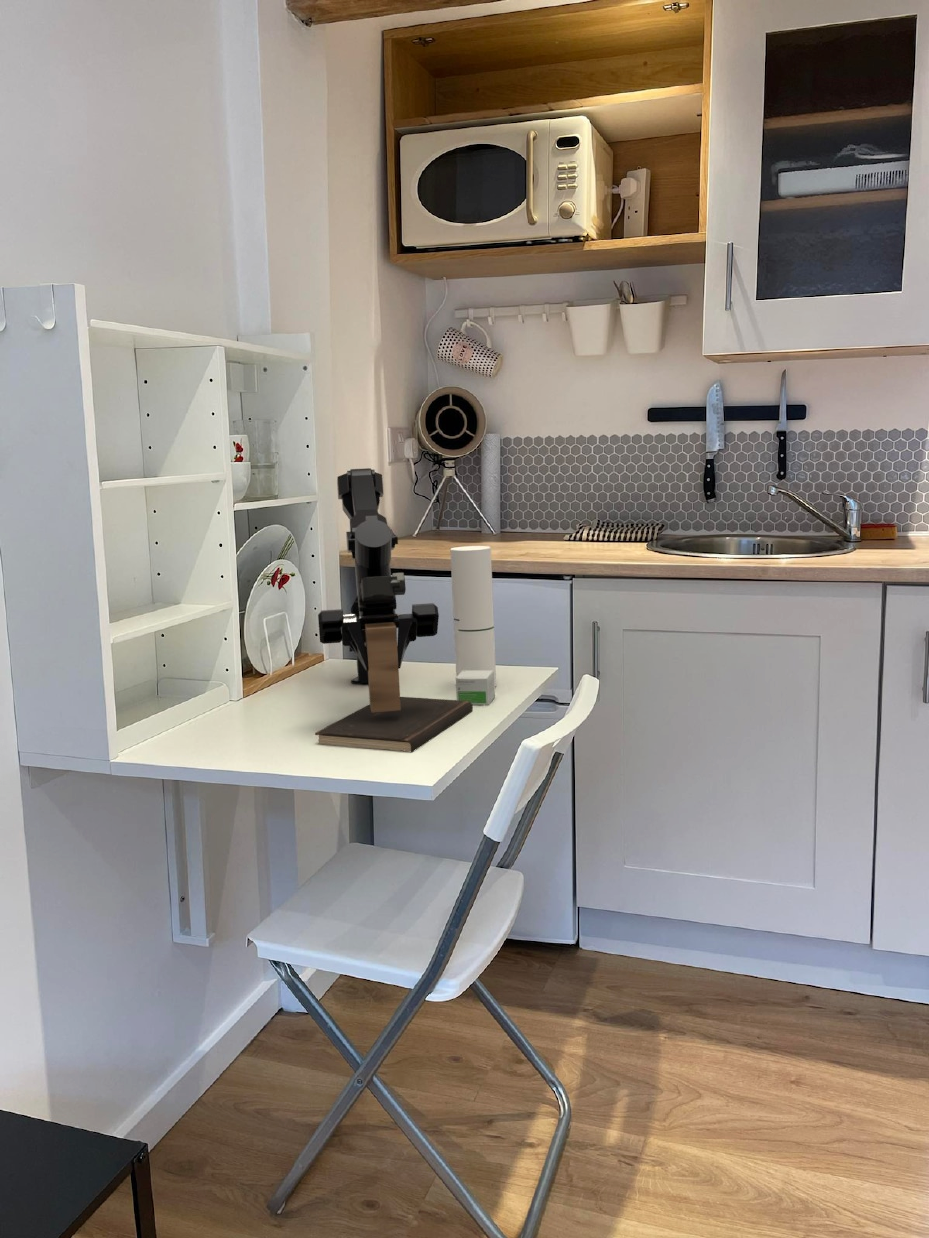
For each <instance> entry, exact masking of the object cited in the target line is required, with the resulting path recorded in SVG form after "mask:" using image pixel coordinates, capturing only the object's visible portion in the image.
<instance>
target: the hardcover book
mask: <svg viewBox="0 0 929 1238" xmlns="http://www.w3.org/2000/svg"><path fill="white" fill-rule="evenodd" d="M400 705H401V710H398V711H385V712H373V713H371V708H370V703H369V704H366V705H365V706H364V707H361V708H359V709H358V710H356V711H354V712H352V713H351V714H348V715H347V716H344V717H342V718H341V719H339V720H336V721H334V722H333V723H331V724H330V725H327V726H326V727H324V728H321V729H320V730H318V731H317V732H315V733H314V734H315V736H318V740H317V742H318V745H327V746H338V747H339V746H340V747H348V746H350V747H349V748H362V749H373V750H383V749H392V750H391V751H395V750H403V751H402V752H407V751H411V752H410V753H413V752H415V751H416V750H418V749H420V748H421V747H422V746H424V745H425V744H426V743H428V742H430V741H431V740H432V739H434V738H436V737H437V736H438V735H440V734H442V733H443V732H445V731H446V730H447V729H449V728H450V727H452V726H453V725H455V724H456V723H458V722H459V721H460V720H462V719H463V718H465V717H466V716H468V715H470V714H471V713H472V712H473V705H472V703H471V702H469V701H461V700H457V699H456V700H455V699H446V698H445V699H444V698H428V697H427V698H426V697H413V696H412V697H410V696H400ZM429 740H430V741H429ZM420 746H421V747H420ZM415 749H416V750H415ZM404 750H405V751H404ZM414 750H415V751H414Z"/></svg>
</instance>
